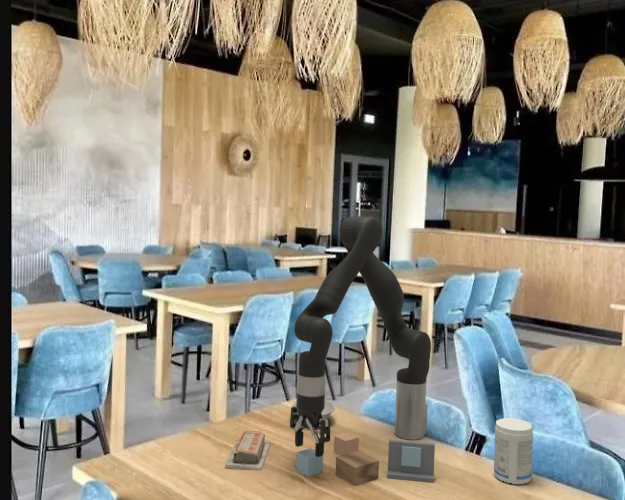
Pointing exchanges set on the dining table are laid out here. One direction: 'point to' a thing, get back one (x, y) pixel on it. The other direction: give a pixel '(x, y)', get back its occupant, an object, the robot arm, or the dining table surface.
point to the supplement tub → (513, 450)
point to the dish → (325, 408)
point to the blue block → (309, 462)
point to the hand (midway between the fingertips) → (308, 450)
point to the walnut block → (357, 468)
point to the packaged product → (249, 452)
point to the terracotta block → (345, 443)
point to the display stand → (411, 460)
